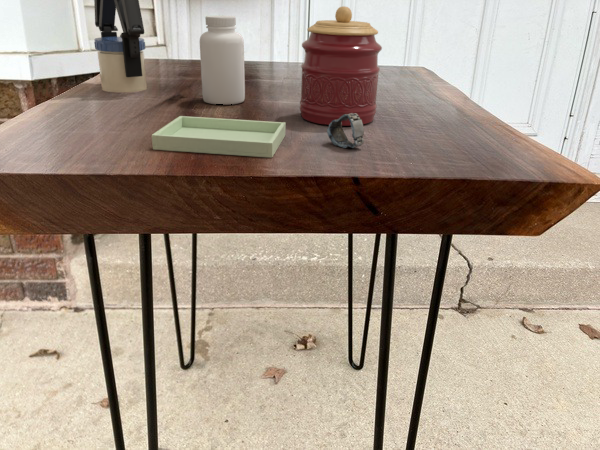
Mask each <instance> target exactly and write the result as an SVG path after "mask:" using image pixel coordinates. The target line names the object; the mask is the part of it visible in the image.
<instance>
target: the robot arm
mask: <svg viewBox="0 0 600 450" xmlns="http://www.w3.org/2000/svg"><path fill="white" fill-rule="evenodd" d="M93 1H94V2H93V4H94V6H93V7H94V25H95V27H96V28H98V30H99V32H100V38H101V37H118V31H119V29H118V27H117V26H116V25H115V23H116V14H117V15H118V19H119V22H120V27H121V29H122V32H121V33H120V35H119V37H121V38H122V44H123V54H124V63H125V73H126V77H139V76H142V67H141V56H140V45H139V38H141V35H145V27H144V22H143V17H142V12H141V6H140V1H139V0H93ZM116 12H117V13H116Z"/></svg>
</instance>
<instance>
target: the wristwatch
mask: <svg viewBox="0 0 600 450" xmlns="http://www.w3.org/2000/svg"><path fill="white" fill-rule="evenodd" d="M347 119H349V121H350V123H351V126H350V127H351V128H350V129H351V133H352V134H351V136H352V139H353V142H351V141H350V140H349V138H348V136H347V135H346V133H345V131H344V129H343V126H342V122H341V121H343V120H345V121H347ZM326 133H327V136H328V139H329V140H330V142H331V143H332V144H333V145H334V146H338V147H340V148H343V149H347V148H351V149H354V148H358V147H361V146H362V145H363V144H364V143H365V139H364V136H365V128H364V124H363V123H362V120H361V119H360V117H359V116H358V114H357V113H354V114H353V113H351V114H344V115H343V116H341V117H340V118H339V119H336V120H333V121H332V122H331V123H330V124H329V125H328V127H327V129H326Z"/></svg>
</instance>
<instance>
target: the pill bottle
mask: <svg viewBox="0 0 600 450" xmlns="http://www.w3.org/2000/svg"><path fill="white" fill-rule="evenodd" d="M204 18H205V25H206V26H205V28H206V29H207V31H205V32H203V33H202V34H200V37H199V55H200V56H199V57H200V59H199V60H200V76H201V93H202V94H201V95H202V100H203V102H204V103H206V104H210V105H216V104H223V105H222V106H231V104H232V105H238V104H241V103H244V101H245V99H246V82H245V81H246V80H245V77H246V76H245V75H246V74H245V41H244V38H243V35H242V34H240V33H239V32H238V31H236V30H235V29H237V26H236V24H237V19H236V15H235V16H234V15H223V14H222V15H220V14H219V15H206V16H205V17H204Z"/></svg>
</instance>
